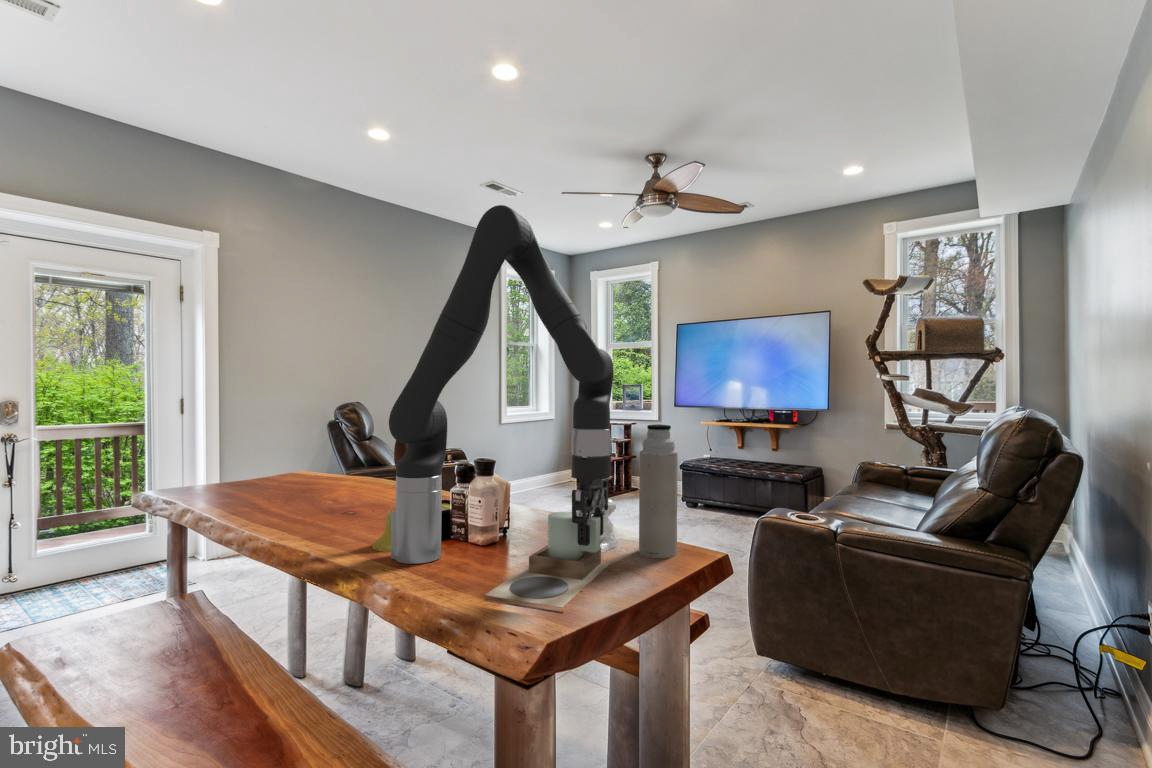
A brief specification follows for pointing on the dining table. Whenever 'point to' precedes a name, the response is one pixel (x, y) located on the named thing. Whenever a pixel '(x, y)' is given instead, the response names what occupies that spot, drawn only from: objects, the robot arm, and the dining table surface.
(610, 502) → the seated beast figurine
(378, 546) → the handbell
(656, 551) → the thermos bottle
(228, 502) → the dining table surface
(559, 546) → the sage jug
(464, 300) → the robot arm
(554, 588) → the jug stand
